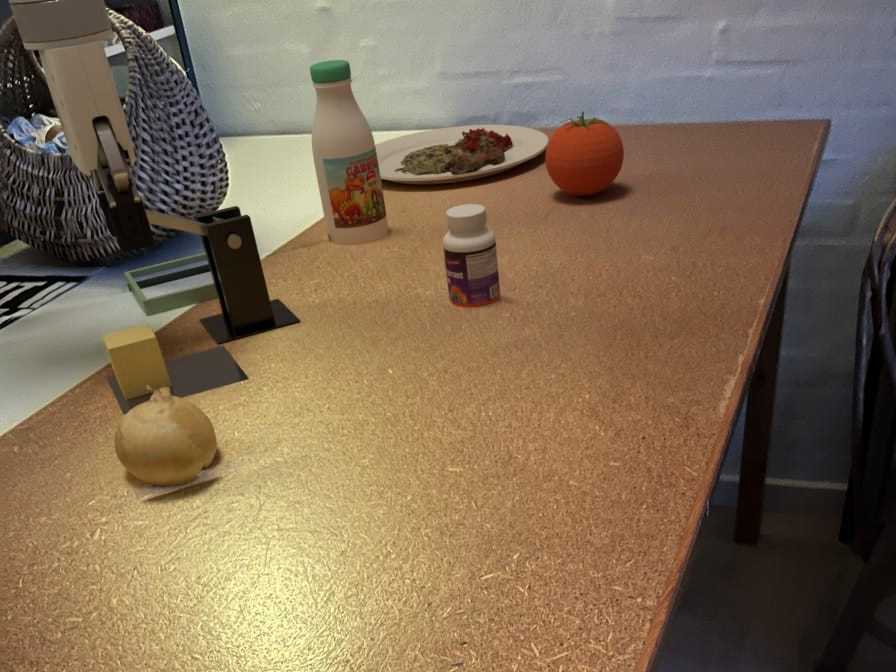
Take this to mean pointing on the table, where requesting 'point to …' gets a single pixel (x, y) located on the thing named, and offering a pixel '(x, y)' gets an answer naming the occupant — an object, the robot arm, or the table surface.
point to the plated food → (457, 153)
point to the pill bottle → (470, 257)
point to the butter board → (190, 376)
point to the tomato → (584, 156)
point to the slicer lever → (178, 222)
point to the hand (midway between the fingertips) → (132, 238)
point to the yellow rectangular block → (136, 360)
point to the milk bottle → (345, 159)
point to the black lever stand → (238, 280)
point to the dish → (174, 298)
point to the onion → (165, 440)
